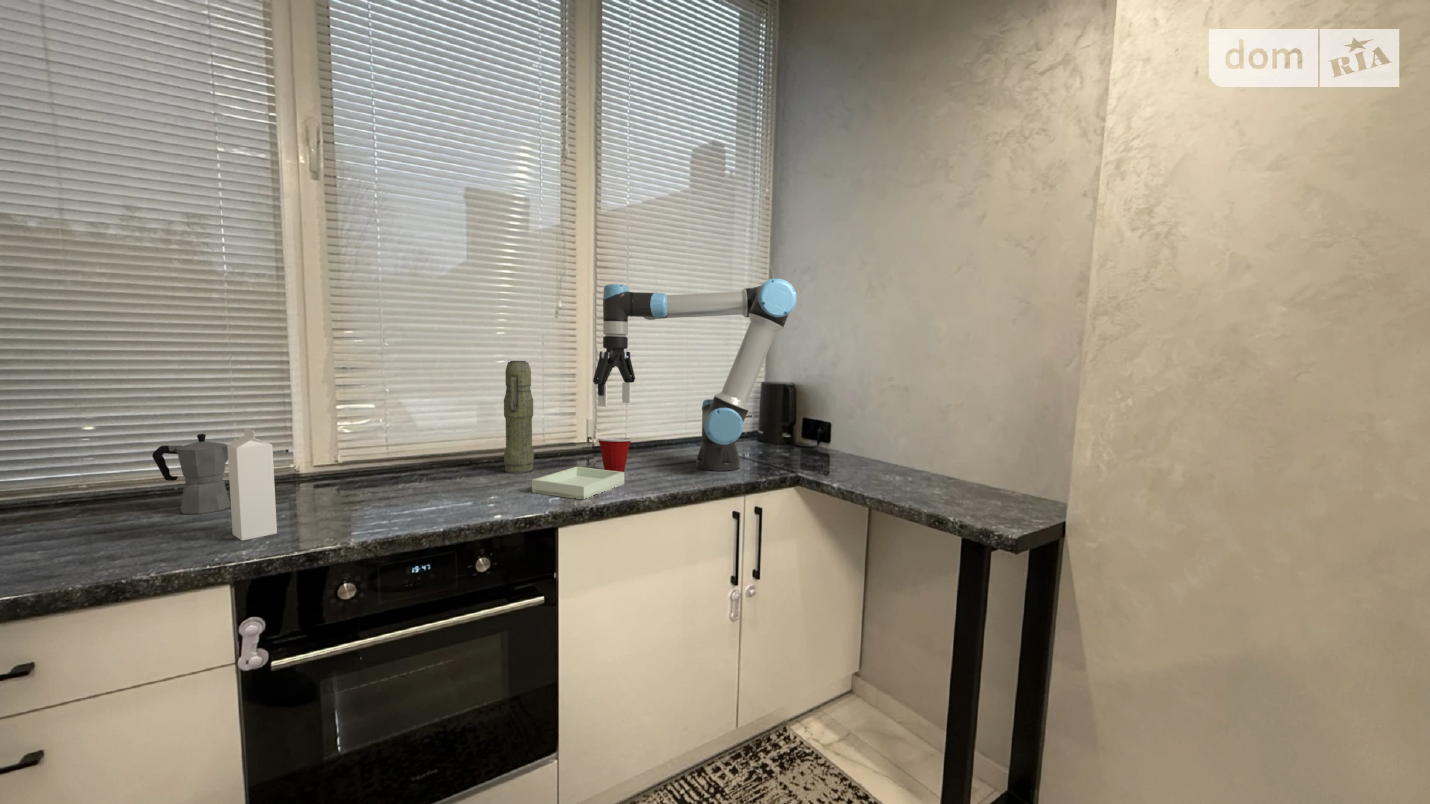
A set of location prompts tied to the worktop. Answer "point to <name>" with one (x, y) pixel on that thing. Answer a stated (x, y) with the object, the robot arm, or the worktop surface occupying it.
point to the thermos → (518, 418)
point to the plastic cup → (614, 452)
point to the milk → (251, 487)
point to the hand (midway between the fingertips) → (614, 404)
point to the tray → (578, 482)
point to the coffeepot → (199, 474)
